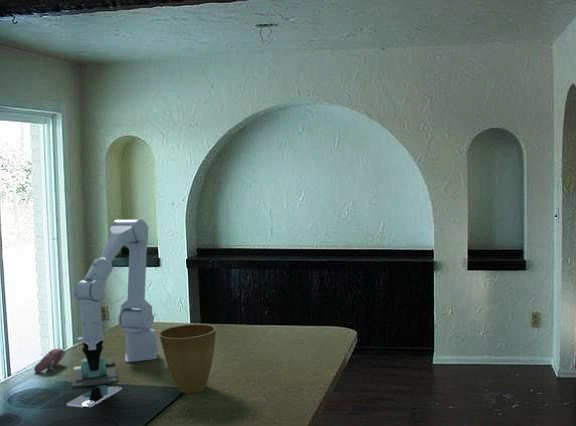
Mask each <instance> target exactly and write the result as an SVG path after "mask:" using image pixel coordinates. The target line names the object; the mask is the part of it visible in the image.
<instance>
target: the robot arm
mask: <svg viewBox="0 0 576 426" xmlns="http://www.w3.org/2000/svg"><path fill="white" fill-rule="evenodd" d="M109 235H110V236H109V239H108V240H107V243H106V245H105V248H104V250H103V251H102V253H101V256H100V257H99V258H98V257H97V258H95V259H94V260H93V261H92V264H91V266H90V267H89V270H88V271H87V272H86V274H85V276H84V278H83V279H82V280H79V282H77V283H76V285H75V287H74V291H73V296H74V297H75V299H76V300H77V305H78V307H79V314H80V327H81V328H80V330H81V336H80V337H77V342H83V343H82V345H83V346H82V348H81V349H82V352H83V354H84V355H85V357H86V358H85V359H87V361H88V364H89V368H90V371H98V369H99V360H100V357H101V354H102V351H103V350H104V345H103V344H104V334H103V322H102V307H101V299H102V298H103V296H104V295H105V287H106V282H107V280H108V277H109V276H110V274H111V272H112V270H113V265H112V263H113V261H114V260H115V258H116V256H118V253H119V252H120V250H121V249H122V247H123V246H126V248H127V249H128V251H129V252H128V273H127V274H128V276H127V277H128V278H127V279H128V280H127V299H126V300H125V301H124V302H123V303H122V304H121V305H120V311H119V314H118V318H117V319H118V325H119V326H120V328H121V329H122V331H123V332H124V334H125V351H126V352H125V353H126V354H125V355H124V359H125V363H132V362H133V363H134V362H142V361H150V360H157V358H158V356H157V355H158V354H157V353H158V345H157V342H156V341H157V340H156V339H157V338H156V337H157V336H156V330H155V328H152V326H153V325H154V320H155V319H154V314H153V306H152V304H150V303H149V302H148V301H147V300H146V276H147V275H146V273H147V252H148V251H147V249H148V244H149V225H147V223H146V221H145V220H143V219H141V218H138V219H118V218H117V219H115V220H114V221H113V222H112V224H111V226H110V228H109Z"/></svg>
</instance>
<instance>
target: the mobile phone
mask: <svg viewBox="0 0 576 426" xmlns="http://www.w3.org/2000/svg"><path fill="white" fill-rule="evenodd" d="M121 390H122V387H121V386H114V385H105V384H100V385H97V386H95V387H94V388H93V389H90V390H88V391H87V392H85V393H83V394H81V395H80V396H78V397H76V398H75V397H74V399H72V400H70V401H68V402H66V406H68V407H75V408H83V407H89V408H92V407H93V406H96V405H98V404H99V403H101V402H103V401H104V400H107V399H108V398H109V397H112V396H113V395H114V394H116V393H118V392H119V391H121ZM102 400H103V401H102ZM95 404H96V405H95Z"/></svg>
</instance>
